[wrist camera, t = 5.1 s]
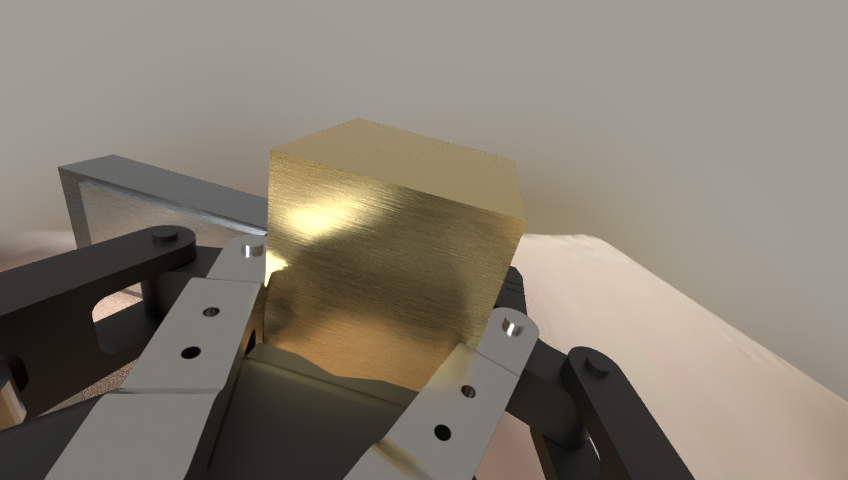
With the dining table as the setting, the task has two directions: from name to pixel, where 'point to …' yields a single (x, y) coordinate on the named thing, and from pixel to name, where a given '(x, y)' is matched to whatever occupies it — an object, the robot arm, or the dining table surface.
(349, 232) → the brass block
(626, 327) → the dining table surface
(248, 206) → the vise
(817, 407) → the dining table surface
